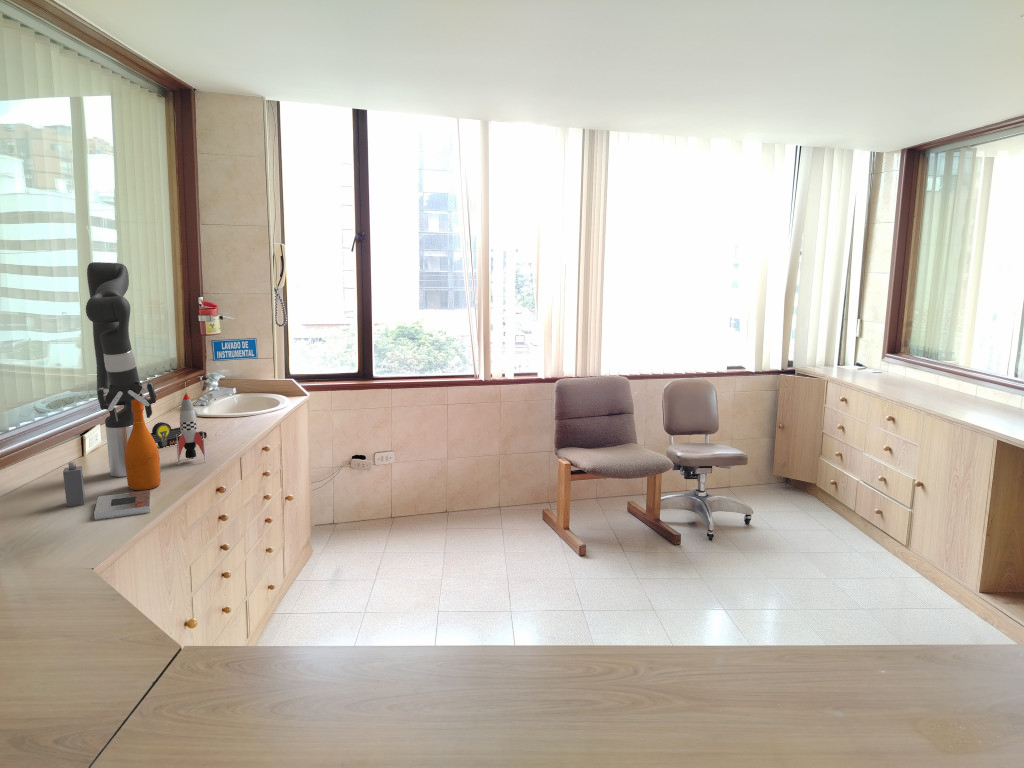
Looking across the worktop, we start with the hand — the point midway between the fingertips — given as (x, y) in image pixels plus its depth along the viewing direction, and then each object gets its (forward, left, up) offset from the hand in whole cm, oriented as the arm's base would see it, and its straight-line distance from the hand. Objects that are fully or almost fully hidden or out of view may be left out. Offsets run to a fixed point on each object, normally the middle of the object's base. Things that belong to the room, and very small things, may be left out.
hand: (132, 419), depth 199 cm
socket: (-4, -3, -27) cm, 28 cm away
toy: (-40, +27, -28) cm, 56 cm away
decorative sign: (-71, +30, -28) cm, 82 cm away
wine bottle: (-21, +7, -28) cm, 36 cm away
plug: (-17, -13, -27) cm, 35 cm away
